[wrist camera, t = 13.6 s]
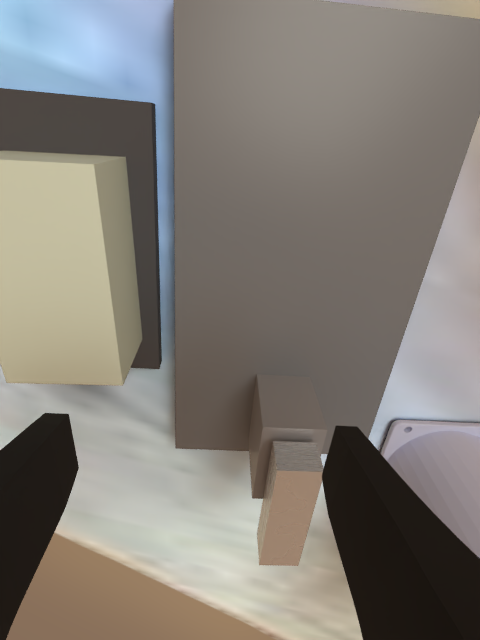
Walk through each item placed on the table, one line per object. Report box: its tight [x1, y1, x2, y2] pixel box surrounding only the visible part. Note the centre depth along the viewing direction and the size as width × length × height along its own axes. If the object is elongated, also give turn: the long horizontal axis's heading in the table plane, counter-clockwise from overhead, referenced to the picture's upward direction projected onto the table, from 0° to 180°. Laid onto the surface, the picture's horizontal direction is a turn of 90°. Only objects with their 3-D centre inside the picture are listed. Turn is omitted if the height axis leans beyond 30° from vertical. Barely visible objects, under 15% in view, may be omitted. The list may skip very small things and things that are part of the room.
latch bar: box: [257, 441, 323, 566], centre depth 17 cm, size 2×7×2 cm, turn 175°
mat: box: [0, 88, 162, 369], centre depth 17 cm, size 8×13×1 cm, turn 175°
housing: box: [174, 0, 480, 499], centre depth 16 cm, size 12×22×6 cm, turn 175°
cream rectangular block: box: [0, 151, 142, 386], centre depth 15 cm, size 5×9×4 cm, turn 177°
